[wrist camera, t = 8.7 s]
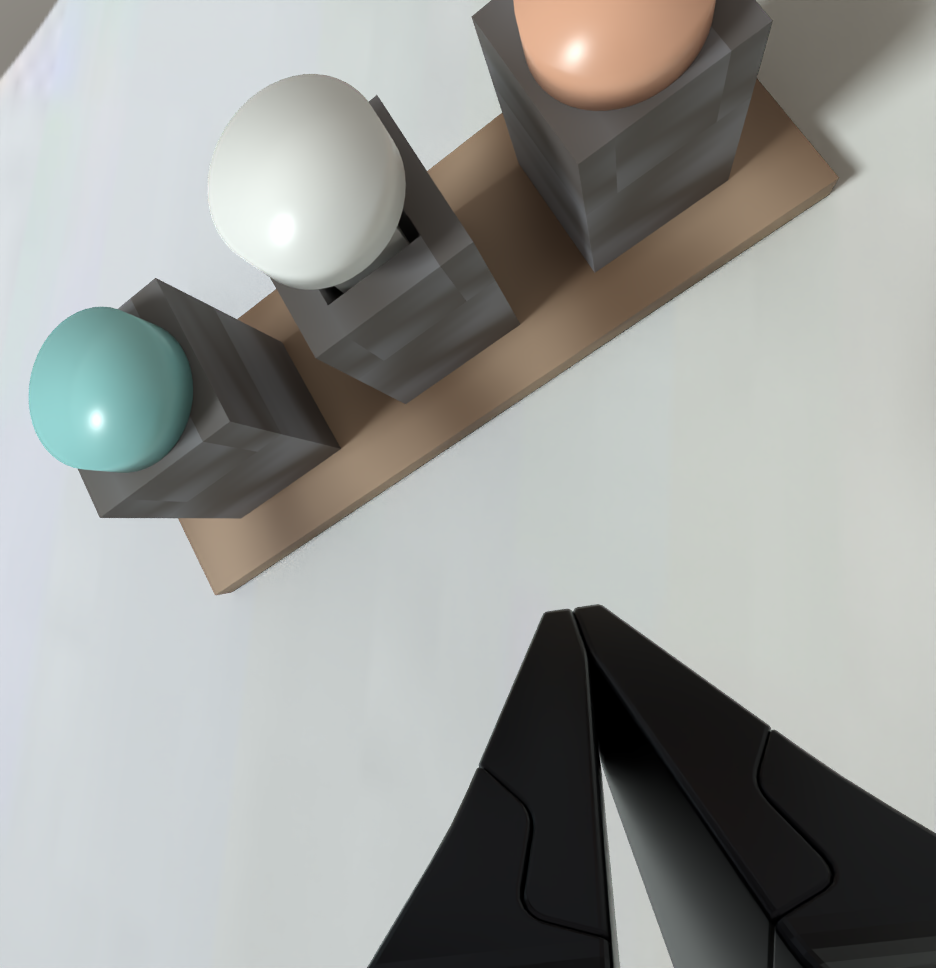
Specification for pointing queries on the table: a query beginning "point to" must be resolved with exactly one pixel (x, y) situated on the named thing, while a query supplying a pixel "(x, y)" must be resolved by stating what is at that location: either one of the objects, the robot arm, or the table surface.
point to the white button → (308, 184)
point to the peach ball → (610, 47)
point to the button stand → (467, 294)
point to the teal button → (110, 391)
